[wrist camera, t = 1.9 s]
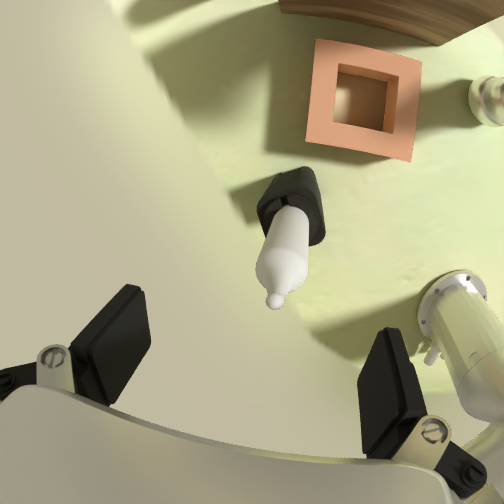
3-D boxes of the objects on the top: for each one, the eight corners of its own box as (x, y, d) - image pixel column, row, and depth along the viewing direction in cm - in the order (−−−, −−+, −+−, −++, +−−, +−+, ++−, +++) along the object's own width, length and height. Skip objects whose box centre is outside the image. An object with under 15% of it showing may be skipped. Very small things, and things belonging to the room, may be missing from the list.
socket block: (397, 157, 32) (410, 162, 27) (305, 139, 33) (305, 141, 29) (407, 69, 27) (421, 61, 22) (314, 49, 28) (315, 38, 24)
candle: (283, 213, 38) (241, 353, 15) (271, 175, 36) (203, 269, 13) (322, 203, 36) (338, 338, 14) (311, 164, 34) (315, 242, 12)
